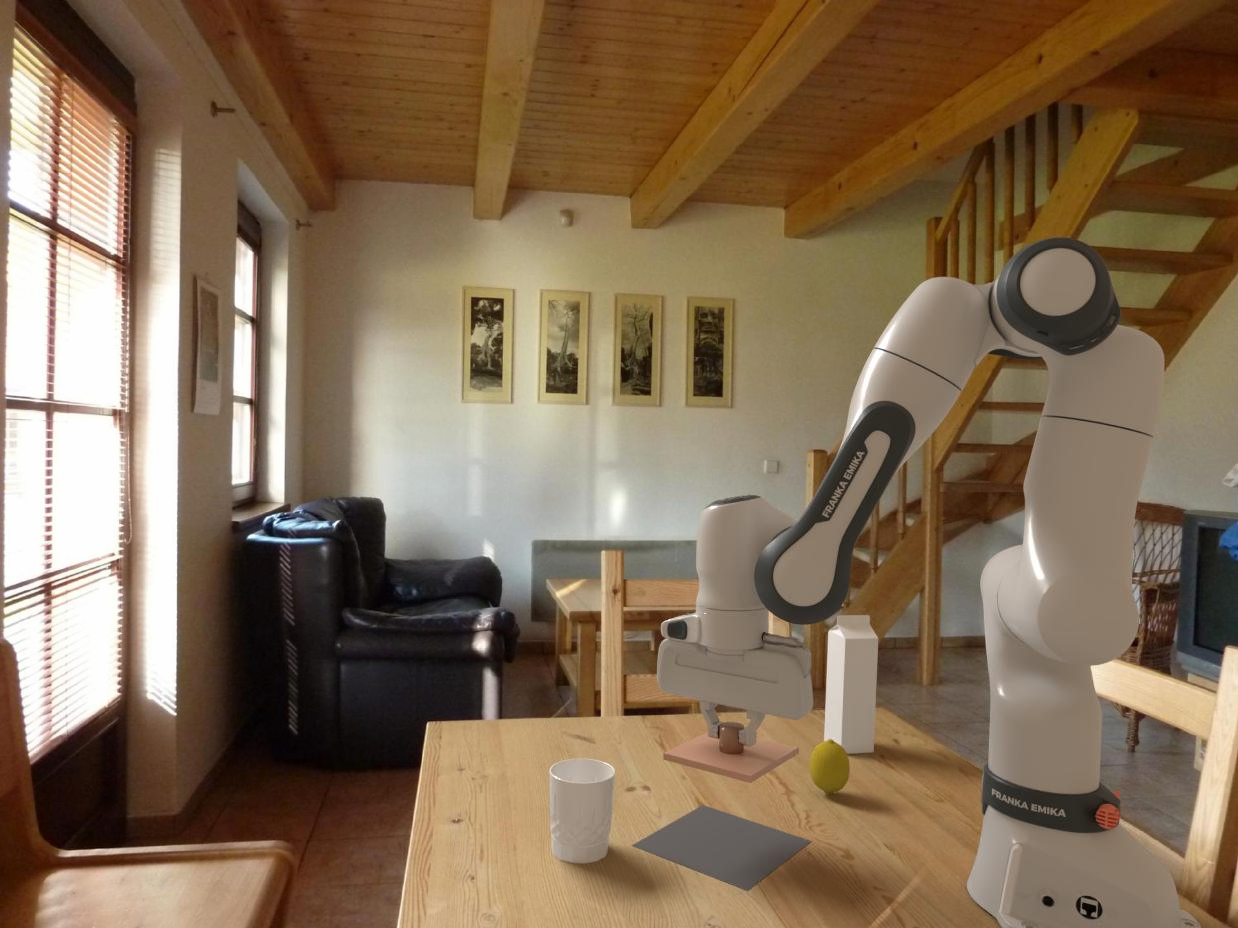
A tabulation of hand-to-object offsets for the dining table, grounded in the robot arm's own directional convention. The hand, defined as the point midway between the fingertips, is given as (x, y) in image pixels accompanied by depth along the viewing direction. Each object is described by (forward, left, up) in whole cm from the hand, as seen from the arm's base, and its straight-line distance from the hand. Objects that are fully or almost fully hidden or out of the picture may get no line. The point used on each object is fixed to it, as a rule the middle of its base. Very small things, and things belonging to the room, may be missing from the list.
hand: (731, 740), depth 106 cm
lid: (0, 0, -2) cm, 2 cm away
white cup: (+13, +13, -13) cm, 23 cm away
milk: (+4, -45, -13) cm, 47 cm away
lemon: (-2, -24, -13) cm, 27 cm away
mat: (+1, 0, -13) cm, 13 cm away
